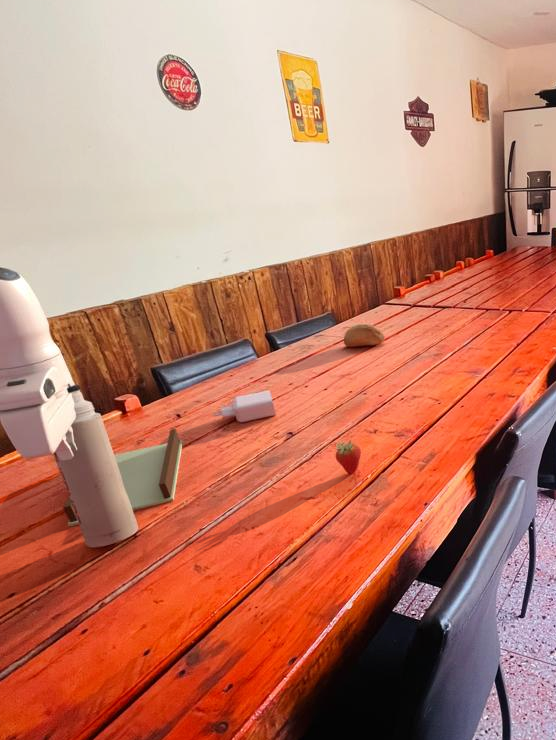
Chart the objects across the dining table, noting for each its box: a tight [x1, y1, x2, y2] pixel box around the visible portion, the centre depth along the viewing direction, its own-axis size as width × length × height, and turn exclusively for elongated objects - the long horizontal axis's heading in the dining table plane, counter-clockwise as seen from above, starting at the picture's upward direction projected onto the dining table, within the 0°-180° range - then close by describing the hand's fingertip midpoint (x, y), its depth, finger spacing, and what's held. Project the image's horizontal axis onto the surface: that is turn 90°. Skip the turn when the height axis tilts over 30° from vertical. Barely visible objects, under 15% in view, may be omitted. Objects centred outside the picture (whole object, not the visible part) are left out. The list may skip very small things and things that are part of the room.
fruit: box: [334, 439, 362, 475], centre depth 109 cm, size 5×5×8 cm
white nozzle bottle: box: [212, 389, 277, 423], centre depth 138 cm, size 5×9×15 cm
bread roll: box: [343, 323, 385, 348], centre depth 189 cm, size 10×15×8 cm, turn 98°
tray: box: [62, 428, 183, 527], centre depth 111 cm, size 18×28×4 cm, turn 24°
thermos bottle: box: [52, 384, 139, 548], centre depth 89 cm, size 8×8×28 cm
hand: (69, 455), depth 83 cm, fingers closed
